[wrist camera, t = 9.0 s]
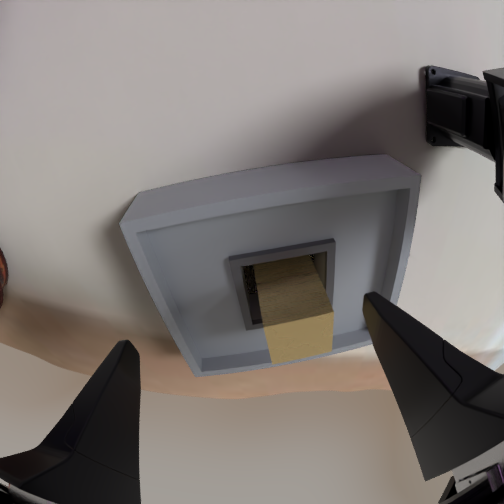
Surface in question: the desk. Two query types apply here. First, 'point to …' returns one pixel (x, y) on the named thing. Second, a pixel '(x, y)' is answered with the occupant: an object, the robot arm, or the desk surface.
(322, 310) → the connector plug
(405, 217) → the grey socket tray
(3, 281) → the vase
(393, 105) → the desk surface
